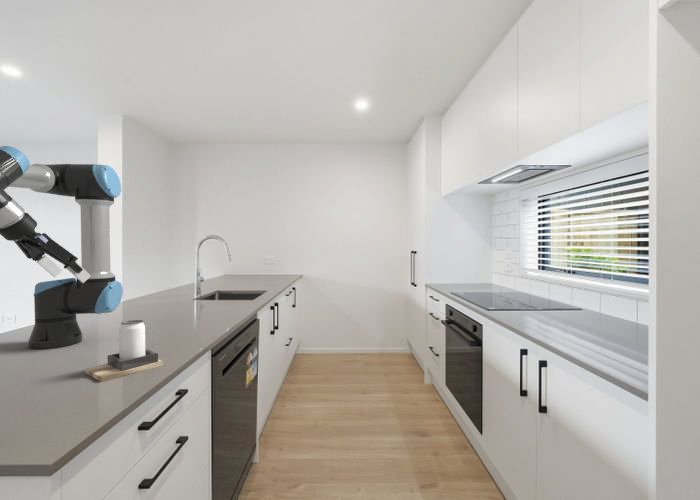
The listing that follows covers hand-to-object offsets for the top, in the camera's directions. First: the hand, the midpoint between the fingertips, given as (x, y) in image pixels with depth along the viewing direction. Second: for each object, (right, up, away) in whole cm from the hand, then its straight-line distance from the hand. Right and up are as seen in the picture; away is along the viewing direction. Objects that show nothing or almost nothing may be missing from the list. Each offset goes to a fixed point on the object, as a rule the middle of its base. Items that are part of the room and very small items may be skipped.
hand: (72, 276), depth 105 cm
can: (+18, -25, 0) cm, 31 cm away
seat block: (+17, -26, -2) cm, 31 cm away
